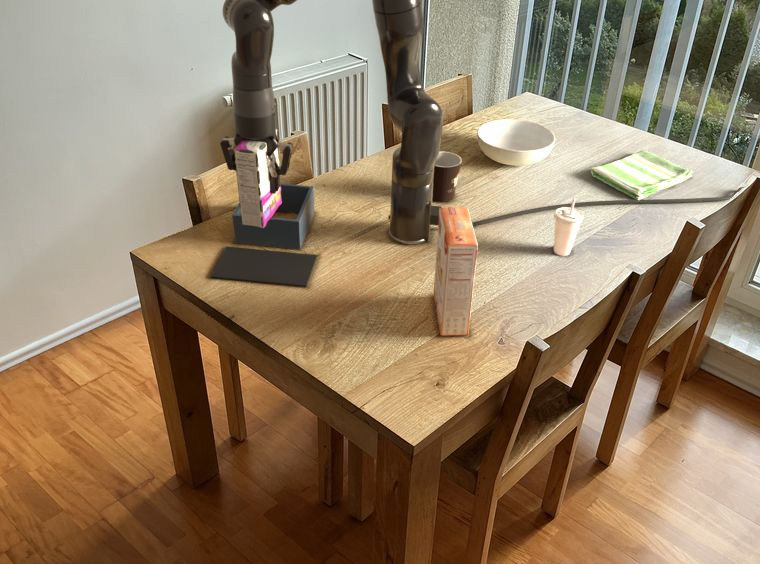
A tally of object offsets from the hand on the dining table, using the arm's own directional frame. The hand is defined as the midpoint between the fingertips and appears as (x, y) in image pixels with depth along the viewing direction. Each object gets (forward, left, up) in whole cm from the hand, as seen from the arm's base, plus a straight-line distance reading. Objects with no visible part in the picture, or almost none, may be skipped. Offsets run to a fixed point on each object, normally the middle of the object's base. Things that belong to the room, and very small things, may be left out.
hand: (260, 190), depth 160 cm
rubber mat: (0, 0, -18) cm, 18 cm away
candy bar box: (0, 0, -6) cm, 6 cm away
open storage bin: (+1, -16, -18) cm, 24 cm away
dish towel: (-87, -60, -18) cm, 107 cm away
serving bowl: (-53, -65, -18) cm, 86 cm away
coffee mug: (-36, -40, -18) cm, 57 cm away
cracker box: (-40, +11, -18) cm, 45 cm away
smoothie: (-64, -18, -18) cm, 69 cm away
